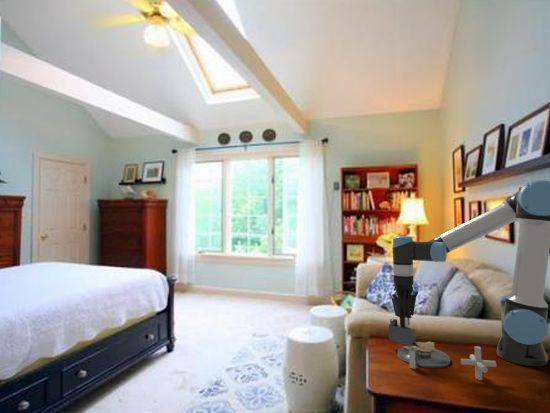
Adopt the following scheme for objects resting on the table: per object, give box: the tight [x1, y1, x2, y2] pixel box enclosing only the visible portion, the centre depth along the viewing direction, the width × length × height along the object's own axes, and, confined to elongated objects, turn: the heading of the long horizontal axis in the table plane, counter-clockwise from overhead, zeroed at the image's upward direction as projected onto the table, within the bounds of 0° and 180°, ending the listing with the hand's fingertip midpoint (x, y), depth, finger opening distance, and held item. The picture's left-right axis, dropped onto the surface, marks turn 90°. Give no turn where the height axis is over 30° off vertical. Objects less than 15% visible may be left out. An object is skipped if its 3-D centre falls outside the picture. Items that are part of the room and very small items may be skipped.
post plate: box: [397, 345, 451, 370], centre depth 125 cm, size 18×21×6 cm
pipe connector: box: [460, 345, 498, 381], centre depth 108 cm, size 10×10×10 cm
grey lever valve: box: [388, 318, 436, 353], centre depth 129 cm, size 18×13×8 cm
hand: (405, 334), depth 134 cm, fingers closed
